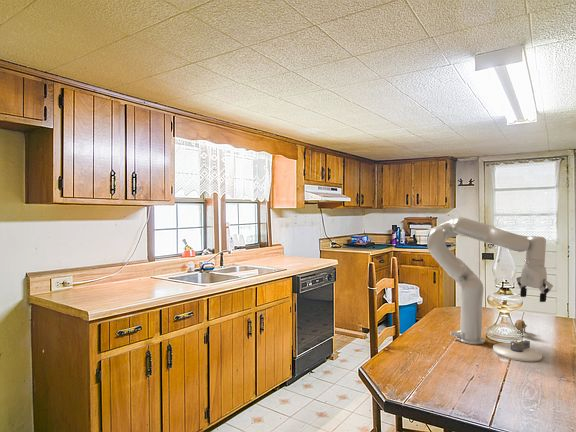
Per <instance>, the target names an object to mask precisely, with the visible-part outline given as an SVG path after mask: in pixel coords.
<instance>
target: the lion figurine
mask: <svg viewBox="0 0 576 432" xmlns="http://www.w3.org/2000/svg"><path fill="white" fill-rule="evenodd" d="M515 327H516V328H517V329H518V330H520V331H519V332H520V334H521V333H522V335H523V334H525V333H526V328H527V327H528V325H527V324H526V323H525V320H524V319H517V320H516V321H515V323H514V328H515ZM523 337H524V335H523Z"/></svg>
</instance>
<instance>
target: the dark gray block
mask: <svg viewBox="0 0 576 432" xmlns="http://www.w3.org/2000/svg"><path fill="white" fill-rule="evenodd" d="M510 343H511V350H513V351H516V352H523V349H527V348H530V347H531V346H530V345H531V341H530V340H526V339H525V340H522V341H513V340H512V341H510Z"/></svg>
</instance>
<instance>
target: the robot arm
mask: <svg viewBox="0 0 576 432" xmlns="http://www.w3.org/2000/svg"><path fill="white" fill-rule="evenodd" d="M458 235H461V236H464V237H466V238H467V237H468V238H470V239H473V240H477V241H480V242H483V243H486V244H489V245H490V244H491V245H495V246H498V247H501V248H505V249H507V250H508V249H509V250H512V251H514V252H518V253H523V252H526V253H525V258H523V262H524V264H523V266H522V270H521V275H520V276H519V277H516V278H515V279H516V282H517V285H518V286H519V289H520V293H519V294H520V298H526V297H527V290H528V289H527V287H529V288H532V289H533V288H534V289H539V291H540V293H539V302H540V303H546V301H547V294H549V293H550V292H551V290H552V289H553V287H554V285H553V284H552V283H550V281H548V280H547V277H548V276H547V269H546V266H545V265H546V264H545V263H546V246H547V239H546V238H545V237H543V236H538V235H537V236H536V235H531V236H530V235H529V236H527V235H522V234H518V233H515V232H514V233H513V232H511V231H507V230H504V229H501V228H498V227H496V226H494V225H491V224H487V223H484V222H480V221H477V220H473V219H470V218H466V217H463V216H457V217H454V218H452V219H449V220H447V221H445V222H442V223H441V224H438V225H436V226H433V227H432V228H431V229H430V231H429V234H428V237H427V241H426V245H427V250H428V252H429V254H430V255H431V257H432V258H433V259H434V260H435V262H437V264H438V265H439V266H440V267H441V268H442V269H443V270H444V272H445V273H446V274H447V275H448V276H449V277H450V278H452V279H453V280H454V281H455V282H456V283H457V285H459V286H460V287H461V288H460V289H461V291H460V292H461V293H460V321H459V322H460V324H459V325H460V327H459V328H458V330H456V331H451V330H450V331H449V335H450V336H454V337H456V340H457V341H459V342H461V343H463V344H468V345H469V344H470V345H475V346H476V345H477V346H478V345H483V344H485V343H486V340H485V338H484V337H482V331H483V330H482V329H483V327H482V325H483V300H484V284H483V282H482V280H481V279H480V278H479V277H478V276H477V274H475V272H474V271H473V270H471V268H470V267H469V266H468V265H467V264H466V263H465V262H464V261H463V260H462V259H461V258H459V257H457V256H456V255H455V254H454V253H453V251H452V250H451V249H449V248H448V247H447V245H446V240H449V239H451V238H454V237H457V236H458Z"/></svg>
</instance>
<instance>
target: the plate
mask: <svg viewBox="0 0 576 432" xmlns="http://www.w3.org/2000/svg"><path fill="white" fill-rule="evenodd" d="M492 351H493V353H495V354H496V355H498V356H500V357H503V358H505V359H508V360H512V361H516V362H524V363H526V362H527V363H533V362H535V363H537V362H539V361H541V360H542V359H543V354H542V352H541V351H540V350H537V349H536V348H534V347H531V346H530V348H527V349H523V352H516V351H513V350H511V342H510V343H509V342H501V343H500V342H499V343H495V344H493V346H492Z"/></svg>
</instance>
